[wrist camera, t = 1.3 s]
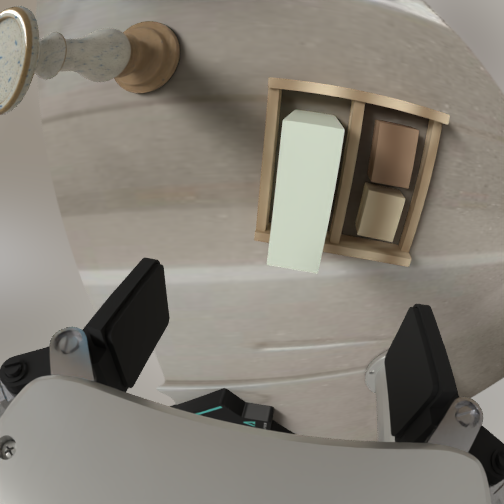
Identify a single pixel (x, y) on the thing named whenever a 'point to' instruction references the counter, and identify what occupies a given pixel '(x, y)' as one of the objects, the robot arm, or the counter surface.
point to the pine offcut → (379, 212)
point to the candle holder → (83, 55)
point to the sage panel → (304, 189)
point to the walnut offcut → (392, 153)
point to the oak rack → (349, 170)
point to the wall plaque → (232, 410)
